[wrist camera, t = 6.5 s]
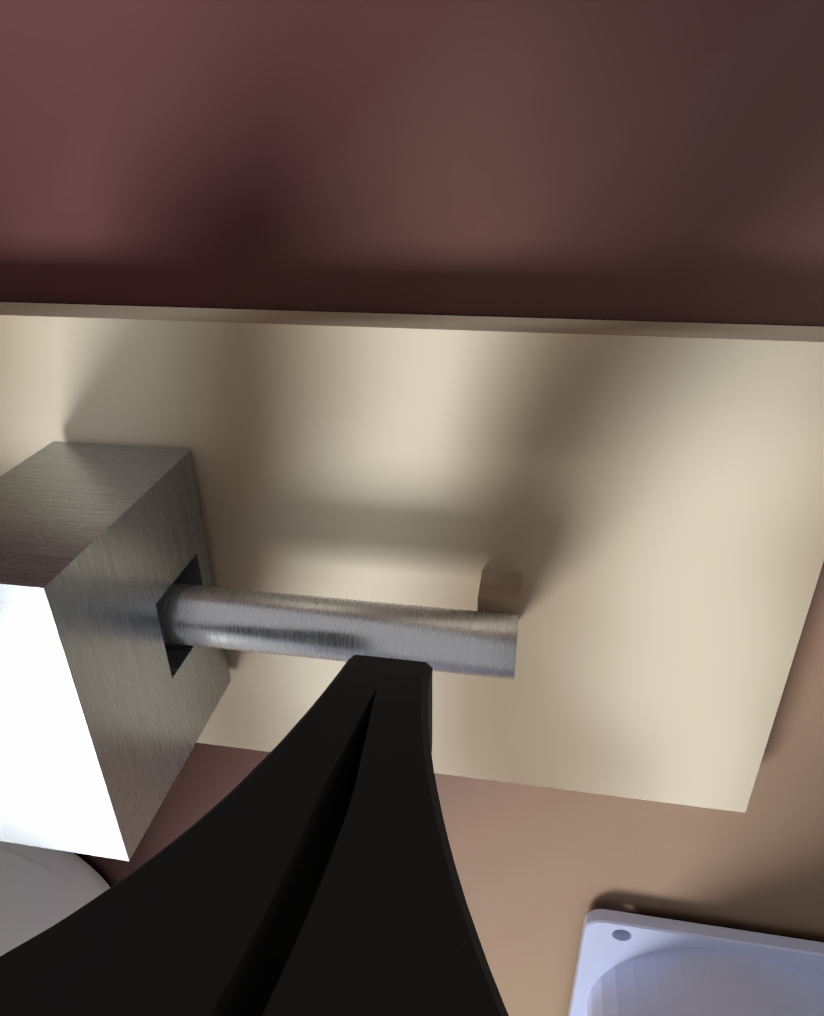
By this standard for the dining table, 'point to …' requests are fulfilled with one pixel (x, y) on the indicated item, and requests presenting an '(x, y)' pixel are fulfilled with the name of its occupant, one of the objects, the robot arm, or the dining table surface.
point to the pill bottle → (41, 890)
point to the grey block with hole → (97, 643)
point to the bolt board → (474, 519)
